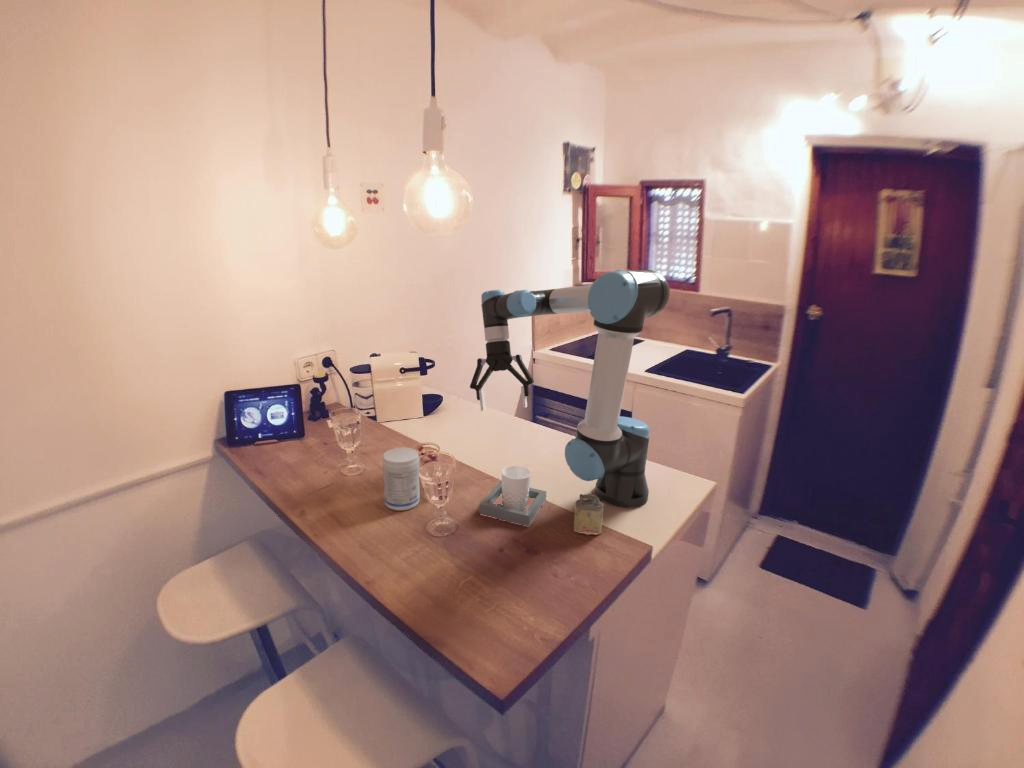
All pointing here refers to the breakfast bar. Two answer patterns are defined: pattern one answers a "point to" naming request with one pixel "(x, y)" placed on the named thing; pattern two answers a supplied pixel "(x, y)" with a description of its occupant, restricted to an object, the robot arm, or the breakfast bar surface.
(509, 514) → the slate coaster tray
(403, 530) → the breakfast bar surface
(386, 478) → the supplement tub
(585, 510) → the lighter
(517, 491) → the white cup
